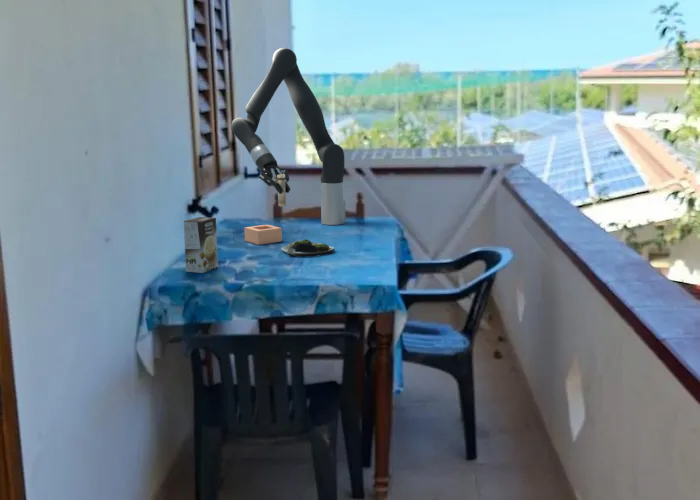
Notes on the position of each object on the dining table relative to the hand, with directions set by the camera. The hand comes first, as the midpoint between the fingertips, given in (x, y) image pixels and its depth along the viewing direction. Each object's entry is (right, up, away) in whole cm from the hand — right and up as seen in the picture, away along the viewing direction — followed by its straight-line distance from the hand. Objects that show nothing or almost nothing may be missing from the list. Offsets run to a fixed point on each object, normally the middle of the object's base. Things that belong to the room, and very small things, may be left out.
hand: (285, 191), depth 304 cm
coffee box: (-22, -29, -56) cm, 67 cm away
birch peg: (-1, -5, +2) cm, 6 cm away
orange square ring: (-7, -19, -11) cm, 23 cm away
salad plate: (+10, -24, -31) cm, 40 cm away
